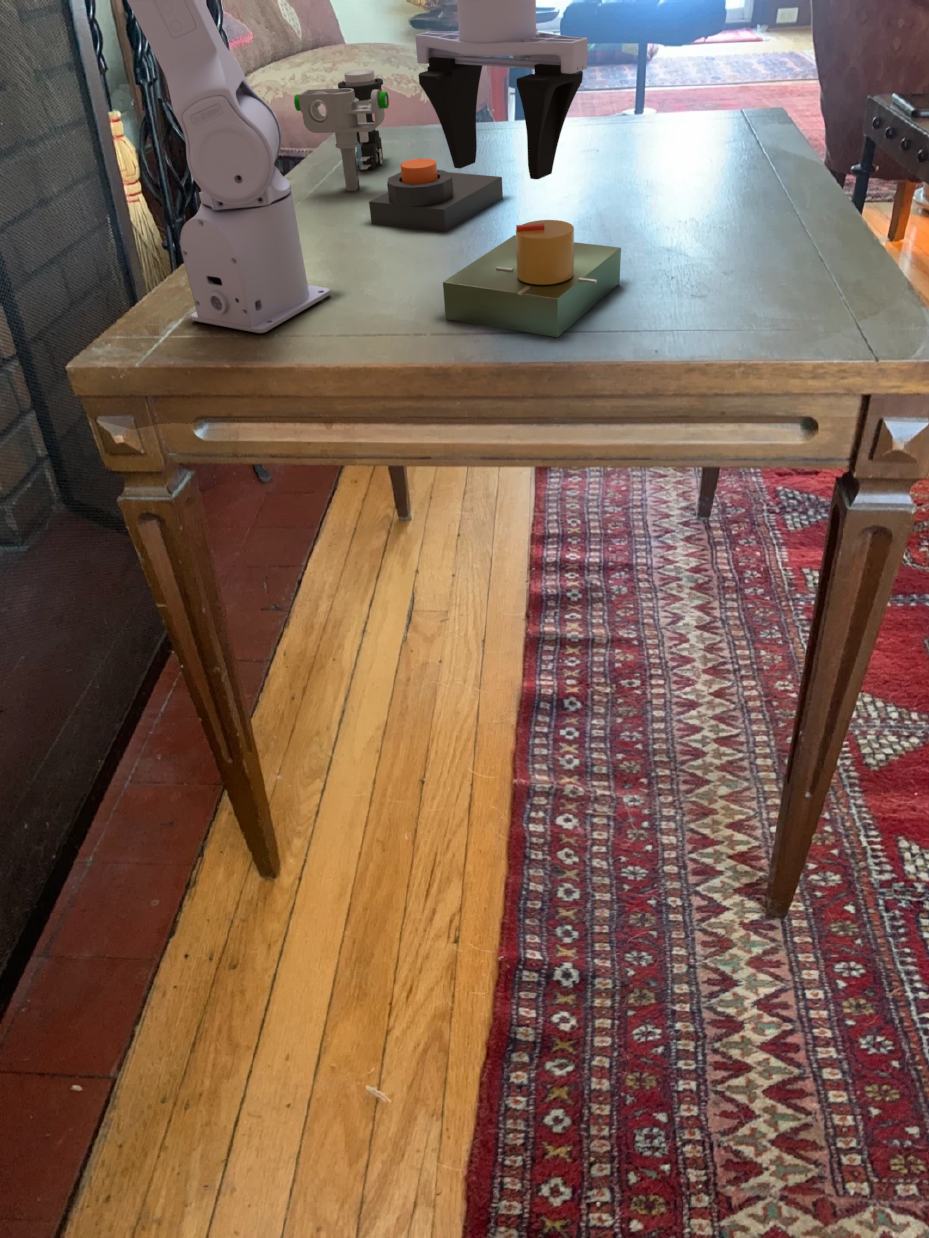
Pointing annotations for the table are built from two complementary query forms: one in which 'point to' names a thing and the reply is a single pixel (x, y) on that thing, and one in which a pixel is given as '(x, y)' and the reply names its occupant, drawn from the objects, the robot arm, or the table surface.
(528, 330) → the block
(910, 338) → the table surface
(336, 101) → the mechanical component
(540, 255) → the dial knob
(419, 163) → the button
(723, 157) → the table surface
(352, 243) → the table surface
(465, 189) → the box
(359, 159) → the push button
